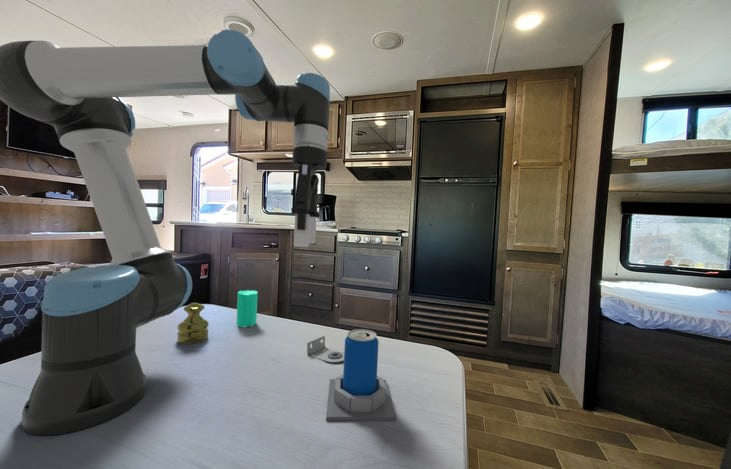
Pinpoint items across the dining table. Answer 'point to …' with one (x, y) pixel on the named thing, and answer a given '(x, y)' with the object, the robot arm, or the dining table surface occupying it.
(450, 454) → the dining table surface
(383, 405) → the cup holder
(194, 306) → the yellow knotted piece
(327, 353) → the bracket
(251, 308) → the candle
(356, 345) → the beverage can
